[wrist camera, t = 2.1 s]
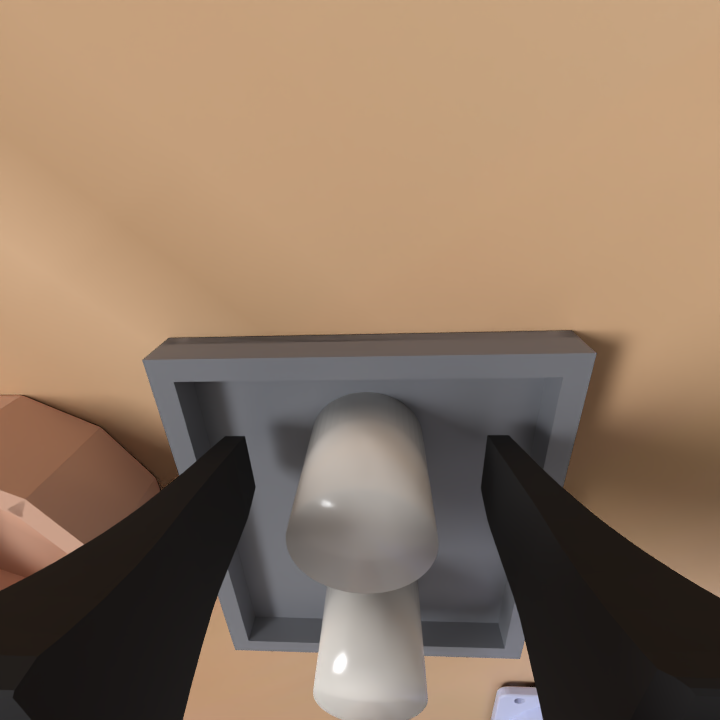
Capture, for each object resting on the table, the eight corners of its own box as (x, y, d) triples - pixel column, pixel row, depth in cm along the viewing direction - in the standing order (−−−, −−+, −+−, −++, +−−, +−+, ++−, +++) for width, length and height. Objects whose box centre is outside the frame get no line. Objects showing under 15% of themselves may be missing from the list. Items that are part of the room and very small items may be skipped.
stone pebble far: (418, 548, 15) (429, 668, 12) (416, 606, 17) (425, 727, 13) (325, 547, 15) (307, 663, 12) (331, 604, 17) (318, 722, 13)
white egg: (424, 391, 12) (442, 489, 8) (421, 481, 14) (434, 595, 10) (306, 392, 12) (276, 488, 9) (317, 480, 14) (294, 592, 10)
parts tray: (571, 330, 11) (596, 352, 10) (509, 621, 18) (519, 658, 16) (168, 338, 12) (142, 360, 11) (245, 614, 18) (235, 649, 17)
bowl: (126, 394, 13) (52, 461, 10) (194, 586, 18) (157, 671, 15) (-150, 397, 14) (-295, 460, 11) (-17, 581, 18) (-93, 662, 15)
